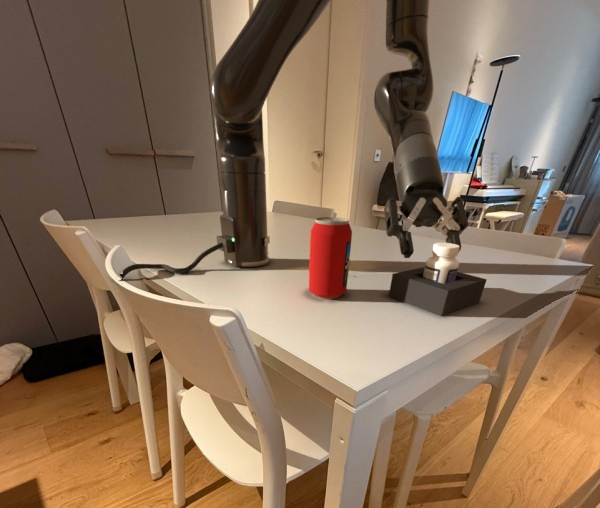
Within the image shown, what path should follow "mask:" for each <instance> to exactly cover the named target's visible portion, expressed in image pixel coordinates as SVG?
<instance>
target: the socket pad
mask: <svg viewBox="0 0 600 508" xmlns="http://www.w3.org/2000/svg"><path fill="white" fill-rule="evenodd" d="M424 268H425V266H420V267H416V268H412V269H408V270H403V271H398V272H394V273H392V276H391V282H390V287H389V293H388V297H389V298H392V299H393V300H394V299H395V300H397V301H400V302H402V303H405V304H408V305H411V306H413V307H416V308H419V309H422V310H424V311H427V312H429V313H432V314H436V315H438V316H441V317H442V316H445V315H448V314H450V313H453V312H456V311H459V310H463V309H465V308H468V307H470V306H473V305H476V304H479V303H480V301H481V298H482V295H483V292H484V289H485V286H486V283H487V280H488V279H486V278H482V277H479V276H476V275H472V274H468V273H464V272H460V271H457V275H456V279H455V281H453V282H450V283H446V284H442V283H439V282H435V281H432V280H429V279H425V278H423V273H424Z"/></svg>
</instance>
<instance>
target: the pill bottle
mask: <svg viewBox="0 0 600 508" xmlns="http://www.w3.org/2000/svg"><path fill="white" fill-rule="evenodd" d="M459 248H460V246H459V245H456V244H451V243H446V242H436V243H434V244H433V247H432V251H431V254H432V256H430V257H429V258H428V259H426V261H425V264H424V267H425V268H424V273H423V278H425V279H429V280H432V281H435V282H439V283H442V284H446V283H450V282H453V281H455V279H456V275H457V272H459V267H460V262H459V261H458V259H457V258H456V257H458V255H459V253H460V251H459ZM458 252H459V253H458Z"/></svg>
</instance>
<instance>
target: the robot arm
mask: <svg viewBox="0 0 600 508" xmlns="http://www.w3.org/2000/svg"><path fill="white" fill-rule="evenodd" d="M331 1H332V0H257V2H256V4H255V6H254V8H253V10H252V12H251V14H250V16H249V18H248V19H247V21H246V22H245V24H244V26H243V27H242V29H241V30H240V31H239V33H238V35H237V36H236V38H235V39H234V41H233V42H232V44H231V45H230V46H229V48H228V49H227V50H226V52H225V53H224V54H223V56H222V57H221V59H220V60H219V61H218V63H217V64H216V65H215V67H214V69H213V72H212V74H211V77H210V82H209V83H210V84H209V92H210V93H209V94H210V99H211V102H212V111H213V117H214V118H213V121H214V129H215V139H216V141H215V142H216V153H217V154H216V156H217V157H216V158H217V166H218V175H219V185H220V195H221V205H222V214H220V215H219V221H220V231H221V235H216V244H215V245H213V246H211V247H209V248H207V249H205V250H204V251H202V253H200V254H199V255H198V256H197V257H196V258H195V260H194V261H193V262H192V263H191V264H189V265H188V266H186V267H182V268H181V267H180V268H179V267H178V268H177V267H172V266H170V265H168V264H165V263H135V264H130V265H128V266H126V267H125V268H124V269H122V271H123V274H120V273H119V274H118V275H120V276H121V277H122V278H123V279H124V278H125V277H126V276H127V275H128V274H130V273H131V272H132V271H133V272H134V271H136V270H141V269H143V270H144V269H145V270H146V269H149V270H166V271H168V272H169V273H173V274H185V273H189V272H191V271H192V270H194V269H195V268H196V267H197V266H198V265H199V264H200V263H201V262H202V260H204V258H206V257H207V256H208V255H211V254H212V253H214V252H215V251H217V250H219V251H222V252H223V259H224V260H223V261H224V263H226V264H228V265H231V266H233V267H234V268H256V267H262V266H265V265H267V264H269V263H270V258H269V244H270V243H271V241H270V239H271V238H270V235H268V212H267V210H268V208H267V180H266V155H265V145H264V124H263V108H264V105H265V102H266V100H267V98H268V95H269V93H270V92H271V90H272V88H273V85H274V84H275V82H276V80H277V77H278V75H279V73H280V71H281V70H282V67H283V66H284V64H285V62H286V60H287V59H288V58H289V56H290V55H291V53H292V52H293V50H294V49H295V48H296V47H297V45H298V44H299V43H300V42H301V41H302V40H303V39H304V37H306V35H307V34H308V33H309V31H310V30H311V29H312V28H313V26H314V25H315V24H316V22H317V21H318V20H319V18H320V17H321V15H322V14H323V12H324V11H325V10H326V9H327V7H328V6H329V4H330V2H331ZM385 1H386V4H385V35H384V36H385V39H384V40H385V48H386V51H387V52H388V53H390V54H393V55H398V56H401V57H404V58H406V59H407V60H408V63H409V65H410V68H407V69H406V68H405V69H399V70H392V71H388V72H386V73H384V74H383V75H381V77H380V78H379V79H378V81H377V83H376V85H375V88H374V93H373V106H374V111H375V115H376V118H377V120H378V123H379V124H380V126H381V127H382V129H383V131H384V132H385V134H386V136H387V138H388V140H389V142H390V146H391V152H392V157H393V173H394V177H395V182H396V188H397V194H398V200H397V198H396V196H393V195H391V196H389V198H388V200H387V201H386V204H385V206H384V208H383V213H384V222H385V223H384V224H385V232H386V236H387V237H391V238H392V237H393V236H394V237H396V239H397V240H398V244H399V250H400V253H401V255H402V256H403V258H404V259H410V258H411V256H412V255H413V254H414V251H415V250H414V243H413V238H412V232H411V231H409V230H410V229H411V228H412V226H414V227H415V228H421V227H422V228H423V227H426V228H433V229H434V230H435V231H436V232H438V233H439V232H440V233H441V234H442V235H443V236H444V237H445V243H451V244H456V245H459V246H460V248H459V252H458V254H459V253H460V251H461V250H462V243H461V238H460V235H461V234H462V233H463V232H464V231H465V230H466V229H467V228H468V227H469V226H470V225H469V224H470V223H469V221H468V217H467V216H468V215H467V212H466V209H465V206H464V201H463V198H462V197H460V196H456V197H455V199H454V200H447V199H446V197H445V196H444V179H443V175H442V169H441V165H440V159H439V154H438V149H437V147H436V144H435V141H434V137H433V132H432V127H431V122H430V117H429V116H428V114H427V111H428V110H429V108H430V106H431V103H432V101H433V96H434V87H435V86H434V75H433V69H432V63H431V56H430V45H429V31H428V30H429V27H428V26H429V14H430V0H385ZM398 212H400V213H401V214H402V215H403V216H404V217H405V218H406V219H405V221H404V222H403V224H400V223H399V215H398ZM441 218H443V220H442V221H441V222H440V219H441Z"/></svg>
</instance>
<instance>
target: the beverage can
mask: <svg viewBox="0 0 600 508" xmlns="http://www.w3.org/2000/svg"><path fill="white" fill-rule="evenodd" d="M352 239H353V230H352V227H351V225H350V220H349V219H348V218H345V217H337V216H323V217H317V218H315V222H314V223H313V225H312V227H311V229H310V240H309V241H310V242H309V243H310V244H309V267H308V268H309V269H308V291H309V292H310V293H311V294H312V295H314V296H315V297H317V298H320V299H325V300H331V299H337V298H340V297H341V296H342V295H345V294H346V292H347V288H348V287H347V286H348V279H349V269H350V258H351V249H352V247H351V246H352Z"/></svg>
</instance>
